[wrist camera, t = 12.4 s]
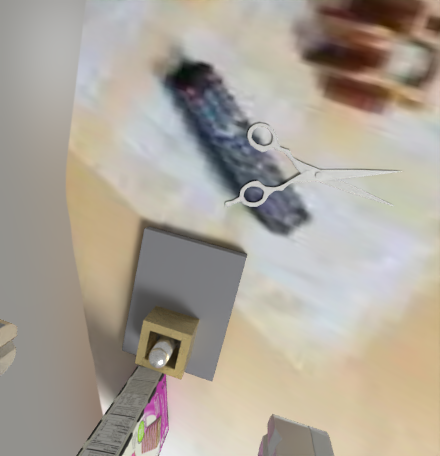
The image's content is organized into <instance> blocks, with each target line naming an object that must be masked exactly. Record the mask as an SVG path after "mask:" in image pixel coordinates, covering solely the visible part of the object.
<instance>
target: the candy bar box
mask: <svg viewBox="0 0 440 456" xmlns="http://www.w3.org/2000/svg"><path fill="white" fill-rule="evenodd" d="M168 430H169V428H168V410H167V390H166V374H164V373H161V372H158V371H155V370H152V369H150V368H147V367H144V366H137V368H136V369H135V371H134V372H133V374H132V375H131V376H130V378H129V379H128V381H127V382H126V384H125V385H124V387H123V388H122V390H121V391H120V393H119V394H118V396H117V397H116V398H115V400H114V401H113V403H112V404H111V406H110V407H109V409H108V410H107V411H106V413H105V414H104V416H103V417H102V419H101V420H100V422H99V423H98V425H97V426H96V428H95V429H94V430H93V432H92V434H91V435H90V436H89V438H88V439H87V441H86V443H85V444H84V445H83V447H82V448H81V449H80V451H79V453H78V454H77V456H159V453H160V451H161V448H162V446H163V443H164V440H165V438H166V435H167V433H168Z"/></svg>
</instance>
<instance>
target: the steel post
mask: <svg viewBox="0 0 440 456" xmlns="http://www.w3.org/2000/svg"><path fill="white" fill-rule="evenodd" d="M178 342H179V340H177V339H174V338H171V337H168V336H165V335H161V337H160V338H159V340H158V341H157V343H156V344H155V346H154V347H153V349H152V350H151V352H150V354H149V362H150V364H151V365H152V366H153V367H155V368H161V367H163V366H165V365H166V363H167V362H168V360H169V358H170V356H171V354H172V353H173V351H174V349H175V347H176V345H177V343H178Z"/></svg>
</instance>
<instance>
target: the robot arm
mask: <svg viewBox="0 0 440 456" xmlns="http://www.w3.org/2000/svg"><path fill="white" fill-rule="evenodd" d="M16 336H17V326H15V325H14V324H12V323H9V322H6V321H4V320H1V319H0V376H1V375H2V374H3V373H4V372H5V371H6V370H7V369H8V367H9V366H10V365H11V364H12V362H13V359H14V357H15V354H16V347H15V345H14V343H13V341H12V340H13V339H14V338H15V337H16ZM258 456H334V453H333V449H332V445H331V441H330V437H329V435H328V434H327V432H325V431H322V430H319V429H316V428H313V427H310V426H307V425H304V424H301V423H298V422H295V421H292V420H289V419H286V418H283V417H280V416H277V415H274V414H272V416H271V417H270V419H269V422H268V434H266V435H265V436H263V438H262V441H261V444H260V448H259V453H258Z"/></svg>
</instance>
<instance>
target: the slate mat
mask: <svg viewBox="0 0 440 456" xmlns="http://www.w3.org/2000/svg"><path fill="white" fill-rule="evenodd" d="M246 257H247V254H245V253H241V252H238V251H234V250H230V249H227V248H223V247H220V246H216V245H213V244H209V243H206V242H202V241H199V240H195V239H192V238H188V237H185V236H181V235H177V234H174V233H170V232H167V231H163V230H160V229H156V228H153V227H147V228H145V229H144V234H143V239H142V245H141V250H140V256H139V261H138V266H137V272H136V277H135V283H134V288H133V293H132V299H131V304H130V310H129V315H128V320H127V326H126V331H125V337H124V342H123V347H122V350H123V351H126V352H128V353H131V354H134V355H137V350H138V345H139V340H140V335H141V330H142V325H143V320H144V319H145V318H146V317H147V315H148V314H149V313H150V312H151V311H152V310H153V309H154V308H155V306H159V307H163V308H166V309H169V310H172V311H175V312H178V313H181V314H184V315H188V316H191V317H194V318H197V319H200V321H199V325H198V329H197V333H196V337H195V341H194V345H193V349H192V353H191V357H190V360H189V362H188V365H187V367H186V369H185V372H186V373H189V374H192V375H195V376H198V377H200V378H203V379H206V380H209V381H212V380H213V377H214V373H215V370H216V366H217V362H218V359H219V355H220V351H221V348H222V344H223V341H224V337H225V333H226V330H227V326H228V322H229V319H230V315H231V312H232V308H233V304H234V301H235V297H236V293H237V290H238V286H239V283H240V279H241V275H242V272H243V268H244V264H245V261H246ZM161 335H162V334H159V333H158V336H157V341H158V340H159V338H160V337H161ZM180 345H181V341H180V340H179V342H178V343H177V345H176V347H177V348H180Z"/></svg>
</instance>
